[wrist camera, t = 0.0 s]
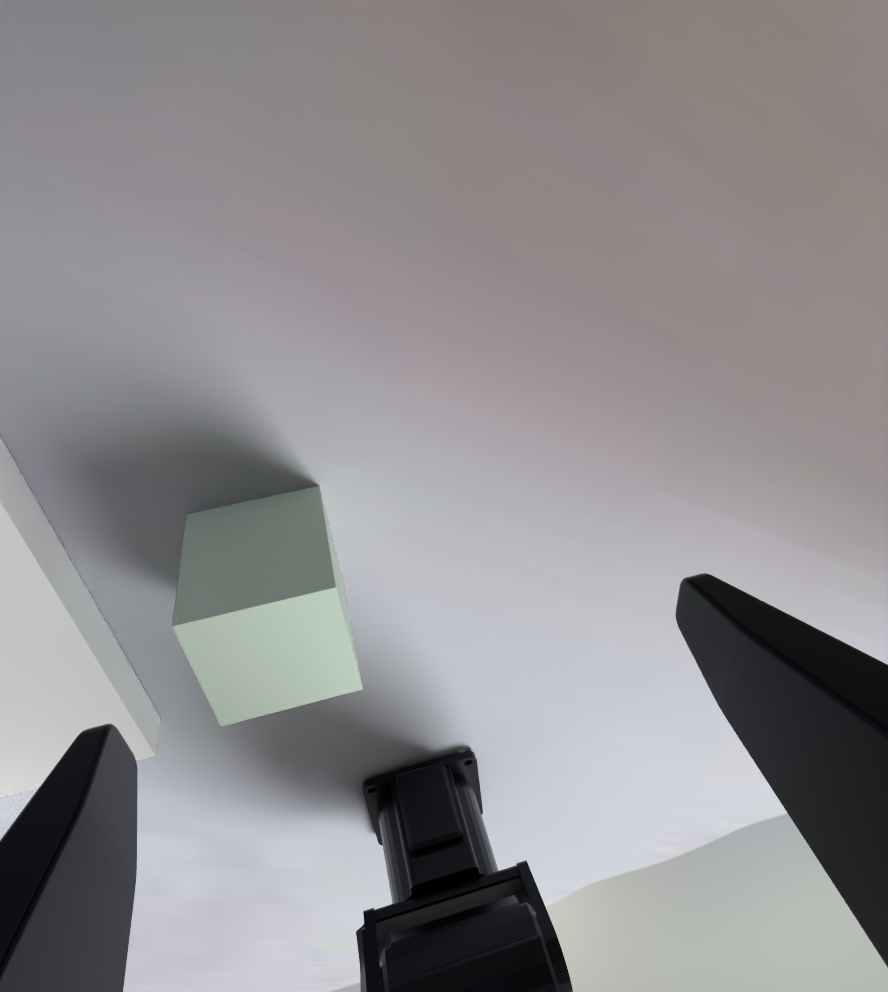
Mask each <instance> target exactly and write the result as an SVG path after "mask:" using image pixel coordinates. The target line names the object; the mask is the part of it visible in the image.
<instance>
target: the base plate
mask: <svg viewBox="0 0 888 992" xmlns="http://www.w3.org/2000/svg"><path fill="white" fill-rule="evenodd" d="M160 720H161V718H160V716H159V714H158V713H157V711H156V709H155V707H154V706H153V704H152V702H151V700H150V699H149V697H148V695H147V693H146V692H145V690H144V688H143V686H142V685H141V683H140V681H139V679H138V678H137V676H136V674H135V672H134V671H133V669H132V667H131V665H130V664H129V662H128V660H127V658H126V657H125V655H124V653H123V651H122V649H121V648H120V646H119V644H118V642H117V641H116V639H115V637H114V635H113V634H112V632H111V630H110V628H109V627H108V625H107V623H106V621H105V620H104V618H103V616H102V614H101V613H100V611H99V609H98V607H97V606H96V604H95V602H94V600H93V599H92V597H91V595H90V593H89V592H88V590H87V588H86V586H85V584H84V583H83V581H82V579H81V577H80V576H79V574H78V572H77V570H76V569H75V567H74V565H73V563H72V562H71V560H70V558H69V556H68V555H67V553H66V551H65V549H64V548H63V546H62V544H61V542H60V541H59V539H58V537H57V535H56V534H55V532H54V530H53V528H52V527H51V525H50V523H49V521H48V520H47V518H46V516H45V514H44V512H43V511H42V509H41V507H40V505H39V504H38V502H37V500H36V498H35V497H34V495H33V493H32V491H31V490H30V488H29V486H28V484H27V483H26V481H25V479H24V477H23V476H22V474H21V472H20V470H19V469H18V467H17V465H16V463H15V462H14V460H13V458H12V456H11V455H10V453H9V451H8V449H7V448H6V446H5V444H4V442H3V440H2V439H1V437H0V797H4V796H8V795H12V794H16V793H19V792H23V791H27V790H31V789H34V788H38V787H40V786H41V785H42V783H43V782H44V781H45V779H46V778H47V776H48V775H49V774H50V772H51V771H52V770H53V768H54V767H55V766H56V764H57V763H58V762H59V760H60V759H61V758H62V756H63V755H64V753H65V752H66V751H67V749H68V748H69V747H70V745H71V744H72V743H73V741H74V740H75V739H76V737H77V736H78V735H79V734H80V733H81V732H82V731H84V730H86V729H89V728H93V727H97V726H101V725H105V724H113V725H114V726H116V728H117V729H118V730H119V732H120V733H121V735H122V737H123V738H124V740H125V741H126V743H127V744H128V746H129V748H130V749H131V751H132V752H133V754H134V756H135V759H136V761H140V760H144V759H147V758H151V757H155V756H156V751H157V743H158V736H159V728H160Z"/></svg>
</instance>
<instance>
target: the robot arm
mask: <svg viewBox="0 0 888 992" xmlns="http://www.w3.org/2000/svg"><path fill="white" fill-rule="evenodd" d="M676 621H677V624H678V627H679V629H680V631H681V633H682V635H683V637H684V639H685V641H686V643H687V645H688V647H689V649H690V651H691V653H692V655H693V657H694V659H695V661H696V663H697V665H698V667H699V668H700V670H701V672H702V674H703V676H704V678H705V680H706V682H707V684H708V686H709V688H710V690H711V692H712V694H713V696H714V698H715V700H716V702H717V703H718V705H719V707H720V709H721V710H722V712H723V714H724V715H725V717H726V718H727V720H728V722H729V723H730V725H731V726H732V728H733V729H734V731H735V732H736V734H737V736H738V737H739V739H740V740H741V742H742V743H743V745H744V746H745V748H746V749H747V751H748V752H749V754H750V756H751V757H752V759H753V760H754V762H755V763H756V765H757V766H758V768H759V769H760V771H761V773H762V774H763V776H764V777H765V779H766V780H767V782H768V783H769V785H770V786H771V788H772V789H773V791H774V793H775V794H776V796H777V797H778V799H779V800H780V802H781V803H782V805H783V806H784V808H785V810H786V811H787V813H788V814H789V816H790V817H791V819H792V820H793V822H794V823H795V825H796V826H797V828H798V830H799V831H800V833H801V834H802V836H803V837H804V839H805V840H806V842H807V843H808V845H809V846H810V848H811V850H812V851H813V853H814V854H815V856H816V857H817V859H818V860H819V862H820V863H821V865H822V867H823V868H824V870H825V871H826V873H827V874H828V876H829V877H830V879H831V880H832V882H833V884H834V885H835V887H836V888H837V890H838V891H839V893H840V894H841V896H842V897H843V898H844V900H845V902H846V904H847V905H848V907H849V908H850V910H851V911H852V913H853V914H854V916H855V917H856V919H857V920H858V922H859V924H860V925H861V927H862V928H863V930H864V931H865V933H866V934H867V936H868V938H869V939H870V940H871V942H872V943H873V945H874V947H875V948H876V950H877V951H878V953H879V954H880V956H881V957H882V959H883V960H884V962H885V964H886V965H887V967H888V665H887V664H885V663H883V662H881V661H879V660H877V659H875V658H873V657H871V656H869V655H867V654H865V653H863V652H862V651H860V650H858V649H856V648H854V647H852V646H850V645H848V644H846V643H844V642H842V641H840V640H838V639H836V638H834V637H832V636H830V635H828V634H826V633H824V632H822V631H820V630H818V629H816V628H814V627H812V626H810V625H808V624H806V623H804V622H802V621H801V620H799V619H797V618H795V617H793V616H791V615H789V614H787V613H785V612H783V611H781V610H779V609H777V608H775V607H773V606H771V605H769V604H767V603H765V602H763V601H761V600H759V599H757V598H755V597H753V596H751V595H749V594H747V593H745V592H743V591H741V590H740V589H738V588H736V587H734V586H732V585H730V584H728V583H726V582H724V581H722V580H720V579H718V578H716V577H714V576H712V575H709V574H699V575H695V576H691V577H687V578H684V579H683V580H682V582H681V584H680V589H679V595H678V601H677V607H676ZM362 788H363V794H364V797H365V800H366V804H367V807H368V810H369V813H370V817H371V820H372V823H373V826H374V830H375V833H376V836H377V839H378V843H379V844H380V845H383V849H384V855H385V861H386V867H387V873H388V879H389V884H390V890H391V896H392V902H393V904H392V905H389V906H385V907H382V908H379V909H376V910H374V908H372V909H369V910H366V911H364V925H363V926H362V927H361V928H360V929H358V930H357V931H356V935H357V943H358V951H359V960H360V974H361V992H573V990H572V985H571V981H570V977H569V973H568V969H567V966H566V962H565V959H564V956H563V953H562V949H561V946H560V944H559V941H558V938H557V935H556V932H555V930H554V927H553V925H552V922H551V920H550V918H549V915H548V913H547V910H546V908H545V905H544V903H543V900H542V898H541V895H540V893H539V890H538V888H537V886H536V883H535V881H534V878H533V876H532V873H531V871H530V868H529V866H528V863H527V861H523V862H520V863H516V865H517V866H513V867H510V868H507V869H504V870H501V871H498V869H497V865H496V862H495V859H494V855H493V852H492V849H491V846H490V842H489V839H488V836H487V832H486V829H485V826H484V823H483V819H482V816H481V815H482V813H483V810H482V801H481V793H480V784H479V776H478V767H477V760H476V757H475V754H474V752H472V751H467V752H463V753H459V754H456V755H452V756H449V757H445V758H442V759H438V760H434V761H431V762H427V763H424V764H420V765H417V766H413V767H410V768H406V769H403V770H399V771H396V772H392V773H388V774H385V775H381V776H378V777H374V778H371V779H368V780H366V781H365V782H363V784H362ZM136 870H137V763H136V759H135V756H134V754H133V752H132V751H131V749H130V748H129V746H128V744H127V743H126V741H125V740H124V738H123V737H122V735H121V733H120V732H119V730H118V729H117V728H116V726H114V725H113V724H105V725H101V726H97V727H93V728H89V729H86V730H84V731H82V732H81V733H80V734H79V735H78V736H77V737H76V739H75V740H74V741H73V743H72V744H71V745H70V747H69V748H68V749H67V751H66V752H65V753H64V755H63V756H62V758H61V759H60V760H59V762H58V763H57V764H56V766H55V767H54V768H53V770H52V771H51V772H50V774H49V775H48V776H47V778H46V779H45V781H44V782H43V783H42V785H41V786H40V787H39V789H38V790H37V791H36V793H35V794H34V795H33V797H32V798H31V800H30V801H29V802H28V804H27V805H26V806H25V808H24V809H23V810H22V812H21V813H20V814H19V816H18V817H17V818H16V820H15V821H14V823H13V824H12V825H11V827H10V828H9V829H8V831H7V832H6V833H5V835H4V836H3V837H2V839H1V840H0V992H123V986H124V977H125V969H126V961H127V952H128V944H129V935H130V927H131V919H132V910H133V902H134V894H135V883H136Z"/></svg>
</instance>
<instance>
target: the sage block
mask: <svg viewBox="0 0 888 992" xmlns="http://www.w3.org/2000/svg"><path fill="white" fill-rule="evenodd" d="M172 628H173V630H174V632H175V634H176V636H177V638H178V640H179V642H180V644H181V646H182V648H183V651H184V653H185V655H186V657H187V659H188V661H189V663H190V665H191V667H192V669H193V671H194V673H195V675H196V677H197V679H198V681H199V683H200V685H201V687H202V689H203V691H204V694H205V696H206V698H207V700H208V702H209V704H210V706H211V708H212V710H213V712H214V714H215V716H216V718H217V720H218V722H219V724H220V726H221V727H222V726H226V725H229V724H233V723H237V722H241V721H245V720H248V719H252V718H256V717H260V716H264V715H267V714H271V713H275V712H279V711H283V710H286V709H290V708H294V707H298V706H302V705H305V704H309V703H313V702H317V701H321V700H324V699H328V698H332V697H336V696H340V695H343V694H347V693H351V692H355V691H359V690H362V689H363V687H362V681H361V676H360V670H359V665H358V659H357V653H356V648H355V642H354V637H353V631H352V626H351V620H350V614H349V609H348V603H347V598H346V592H345V587H344V581H343V577H342V573H341V569H340V565H339V561H338V557H337V553H336V549H335V545H334V541H333V538H332V534H331V530H330V526H329V522H328V518H327V514H326V510H325V506H324V502H323V498H322V494H321V490H320V486H315V487H310V488H306V489H301V490H296V491H292V492H287V493H283V494H278V495H273V496H269V497H264V498H259V499H255V500H250V501H245V502H241V503H236V504H232V505H227V506H222V507H218V508H213V509H208V510H204V511H199V512H194V513H190V514H187V516H186V524H185V531H184V539H183V546H182V554H181V561H180V569H179V576H178V584H177V591H176V599H175V606H174V614H173V621H172Z"/></svg>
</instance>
